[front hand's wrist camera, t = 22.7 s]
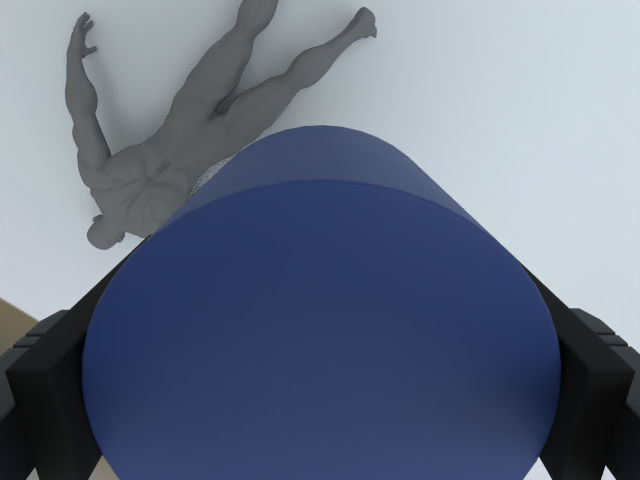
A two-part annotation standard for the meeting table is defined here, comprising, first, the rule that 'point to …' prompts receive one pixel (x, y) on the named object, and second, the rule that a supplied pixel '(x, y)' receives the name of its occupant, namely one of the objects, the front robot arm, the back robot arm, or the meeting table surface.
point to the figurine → (187, 123)
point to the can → (321, 329)
